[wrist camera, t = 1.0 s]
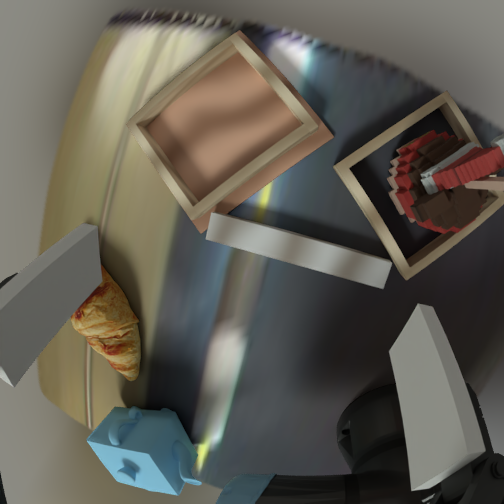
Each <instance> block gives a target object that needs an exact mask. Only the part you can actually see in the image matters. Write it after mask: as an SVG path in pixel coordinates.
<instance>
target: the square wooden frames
mask: <svg viewBox="0 0 504 504" xmlns="http://www.w3.org/2000/svg"><path fill="white" fill-rule="evenodd" d="M437 108H439V109H440V111H441V112H442V114H443V115H444V117H445V118H446V120H447V121H448V123H449V124H450V126H451V128H452V129H453V131H454V132H455V134H456V136H457V137H458V139H461V138H463V140H465V142H466V144H468V143H471V142H474V143H475V144H478V145H479V147H481V145H480V143H479V141H478V139H477V137H476V136H475V134H474V132H473V131H472V129H471V127H470V125H469V124H468V122H467V120H466V119H465V117H464V116H463V114H462V112H461V111H460V109H459V108H458V106H457V105H456V103H455V102H454V100H453V99H452V97H451V96H450V94H449V93H448V92H447V91H445V92H444V93H442V94H441V95H439V96H438V97H436V98H434V99H433V100H431V101H430V102H428V103H427V104H425V105H424V106H422V107H421V108H419V109H418V110H416V111H415V112H413V113H412V114H410V115H409V116H407V117H406V118H404V119H403V120H401V121H399V122H398V123H396V124H395V125H393V126H392V127H390V128H389V129H388V130H386V131H385V132H383V133H382V134H380V135H379V136H377V137H376V138H374V139H373V140H371V141H370V142H368V143H367V144H365V145H364V146H362V147H361V148H359V149H358V150H356V151H355V152H354V153H352V154H351V155H349V156H348V157H346V158H345V159H343V160H342V161H340V162H339V163H337V164H336V165H335V166H333V168H334V170H335V171H336V172H337V174H338V175H339V177H340V178H341V180H342V181H343V182H344V184H345V185H346V187H347V188H348V190H349V191H350V193H351V194H352V196H353V197H354V199H355V200H356V202H357V203H358V205H359V206H360V208H361V209H362V211H363V213H364V214H365V216H366V217H367V219H368V220H369V222H370V224H371V225H372V227H373V228H374V230H375V232H376V233H377V235H378V237H379V238H380V240H381V242H382V243H383V245H384V247H385V248H386V250H387V252H388V253H389V255H390V257H391V259H392V260H393V262H394V264H395V266H396V267H397V269H398V271H399V273H400V274H401V275H402V276H403V277H404V279H405V280H406V281H407V280H408V279H409V278H411V277H412V276H414V275H415V274H417V273H418V272H419V271H421V270H422V269H424V268H425V267H426V266H428V265H429V264H430V263H432V262H433V261H434V260H436V259H437V258H439V257H440V256H441V255H442V254H444V253H445V252H446V251H448V250H449V249H450V248H452V247H453V246H454V245H455V244H457V243H458V242H459V241H461V240H462V239H463V238H464V237H466V236H467V235H468V234H469V233H471V232H472V231H473V230H474V229H475V228H477V227H478V226H479V225H480V224H481V223H483V222H484V221H485V220H486V219H487V218H488V217H490V216H491V215H492V214H493V213H494V212H495V211H496V210H498V209H499V208H500V207H501V206H502V205H503V204H504V192H503V191H500V190H488V191H489V192H488V193H487V194H488V197H487V198H486V200H487V202H486V203H484V204H483V205H482V206H483V207H482V208H481V210H479V212H480V215H479V216H478V217H477V218H476V220H475V221H473V222H472V223H471V224H469V225H468V226H467V227H465V228H464V229H462V230H461V231H460V232H458V233H455V232H453V231H448V232H447V233H445V234H443V233H442V234H441V235H440V236H438V237H437V238H436V239H434V240H433V241H432V242H430V243H429V244H428V245H426V246H425V247H423V248H422V249H421V250H419V251H418V252H417V253H415V254H414V255H412V256H411V257H410V258H408V259H407V260H405V258H404V256H403V254H402V252H401V251H400V249H399V247H398V245H397V244H396V242H395V240H394V238H393V237H392V235H391V233H390V232H389V230H388V228H387V227H386V225H385V223H384V222H383V220H382V218H381V217H380V215H379V213H378V212H377V210H376V209H375V207H374V205H373V204H372V202H371V201H370V199H369V198H368V196H367V195H366V193H365V192H364V190H363V188H362V187H361V185H360V184H359V183H358V181H357V180H356V178H355V177H354V175H353V174H352V172H351V171H350V169H349V168H350V167H351V166H353V165H354V164H356V163H357V162H359V161H360V160H362V159H363V158H364V157H366V156H367V155H369V154H370V153H372V152H373V151H375V150H376V149H378V148H379V147H381V146H382V145H383V144H385V143H386V142H388V141H389V140H391V139H392V138H394V137H395V136H397V135H398V134H400V133H401V132H403V131H404V130H406V129H407V128H409V127H410V126H412V125H413V124H414V123H416V122H417V121H419V120H420V119H422V118H423V117H425V116H426V115H428V114H429V113H431V112H432V111H434V110H435V109H437ZM126 125H127V127H128V128H129V130H130V131H131V133H132V134H133V136H134V137H135V139H136V140H137V142H138V143H139V145H140V146H141V148H142V149H143V151H144V152H145V154H146V155H147V157H148V158H149V160H150V161H151V163H152V164H153V166H154V167H155V169H156V170H157V171H158V173H159V174H160V176H161V177H162V179H163V180H164V182H165V183H166V185H167V186H168V188H169V189H170V190H171V192H172V193H173V195H174V196H175V198H176V199H177V200H178V202H179V203H180V205H181V206H182V208H183V209H184V210H185V212H186V213H187V215H188V216H189V218H190V219H191V220H192V222H193V223H194V225H195V226H196V227H197V229H198V230H199V232H200V233H203V232H204V231H205V230H207V229H208V231H207V236H206V239H207V240H210V241H214V242H218V243H221V244H225V245H228V246H232V247H235V248H239V249H242V250H246V251H249V252H253V253H257V254H260V255H264V256H267V257H271V258H274V259H278V260H281V261H285V262H289V263H292V264H296V265H299V266H303V267H306V268H310V269H313V270H317V271H320V272H324V273H328V274H331V275H335V276H338V277H342V278H345V279H349V280H352V281H356V282H360V283H363V284H367V285H370V286H374V287H377V288H381V289H383V288H384V285H385V283H386V280H387V277H388V274H389V271H390V268H391V265H392V262H391V261H390V260H388V259H385V258H381V257H378V256H375V255H372V254H368V253H365V252H361V251H358V250H355V249H351V248H348V247H344V246H341V245H338V244H334V243H331V242H327V241H324V240H320V239H317V238H313V237H310V236H306V235H302V234H299V233H295V232H292V231H288V230H284V229H281V228H277V227H273V226H270V225H266V224H262V223H259V222H255V221H251V220H247V219H244V218H240V217H236V216H232V215H228V213H229V212H230V211H232V210H233V209H234V208H236V207H237V206H238V205H240V204H241V203H242V202H244V201H245V200H246V199H248V198H249V197H251V196H252V195H253V194H255V193H256V192H257V191H259V190H260V189H261V188H263V187H264V186H266V185H267V184H268V183H270V182H271V181H272V180H274V179H275V178H277V177H278V176H279V175H281V174H282V173H284V172H285V171H286V170H288V169H289V168H291V167H292V166H293V165H295V164H296V163H298V162H299V161H301V160H302V159H303V158H305V157H306V156H308V155H309V154H311V153H312V152H313V151H315V150H316V149H318V148H319V147H321V146H322V145H324V144H325V143H326V142H328V141H329V140H331V139H332V138H334V136H333V135H332V134H331V132H330V131H329V130H328V128H327V127H326V126H325V125H324V123H323V122H322V121H321V119H320V118H319V117H318V116H317V114H316V113H315V112H314V111H313V109H312V108H311V107H310V106H309V105H308V103H307V102H306V101H305V100H304V99H303V97H302V96H301V95H300V94H299V93H298V91H297V90H296V89H295V88H294V87H293V86H292V84H291V83H290V82H289V81H288V80H287V79H286V78H285V77H284V75H283V74H282V73H281V72H280V71H279V70H278V69H277V68H276V67H275V66H274V64H273V63H272V62H271V61H270V60H269V59H268V58H267V57H266V56H265V55H264V54H263V53H262V52H261V51H260V50H259V49H258V48H257V47H256V46H255V45H254V44H253V43H252V42H251V41H250V40H249V39H248V38H247V37H246V36H245V35H244V34H243V33H242V32H241V31H240V30H239V31H238V32H236V33H234V34H233V35H231V36H230V37H228V38H227V39H225V40H224V41H223V42H221V43H220V44H218V45H217V46H216V47H214V48H213V49H212V50H210V51H209V52H207V53H206V54H205V55H204V56H202V57H201V58H200V59H198V60H197V61H196V62H194V63H193V64H192V65H191V66H189V67H188V68H187V69H186V70H185V71H183V72H182V73H181V74H180V75H178V76H177V77H176V78H175V79H174V80H173V81H171V82H170V83H169V84H168V85H167V86H166V87H164V88H163V89H162V90H161V91H160V92H159V93H158V94H157V95H155V96H154V97H153V98H152V99H151V100H150V101H149V102H148V103H147V104H146V105H145V106H144V107H143V108H142V109H140V110H139V111H138V112H137V113H136V114H135V115H134V116H133V117H132V118H131V119H130V120H129V121H128V122H127V123H126ZM481 148H482V147H481ZM482 149H483V148H482ZM489 177H497V176H496V175H490V176H489Z"/></svg>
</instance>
